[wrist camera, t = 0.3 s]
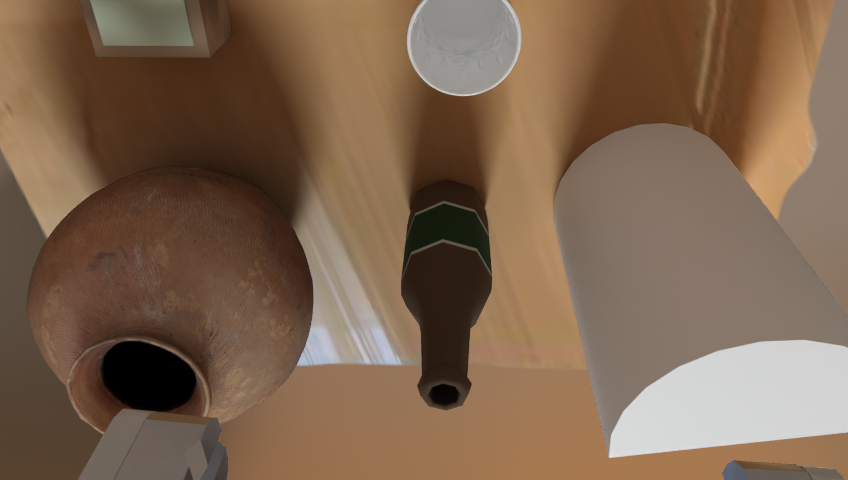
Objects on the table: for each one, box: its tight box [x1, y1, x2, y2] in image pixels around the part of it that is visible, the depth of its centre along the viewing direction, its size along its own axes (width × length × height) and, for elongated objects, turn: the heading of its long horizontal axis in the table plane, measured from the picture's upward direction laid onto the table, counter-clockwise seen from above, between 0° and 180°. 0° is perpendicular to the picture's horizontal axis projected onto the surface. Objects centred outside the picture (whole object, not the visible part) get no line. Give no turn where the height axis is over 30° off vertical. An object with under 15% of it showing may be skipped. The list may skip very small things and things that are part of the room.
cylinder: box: [553, 123, 848, 458], centre depth 51 cm, size 17×17×28 cm
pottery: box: [27, 166, 313, 434], centre depth 55 cm, size 23×23×25 cm
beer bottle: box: [401, 180, 492, 410], centre depth 54 cm, size 8×8×24 cm
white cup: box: [407, 0, 521, 96], centre depth 48 cm, size 8×8×10 cm
